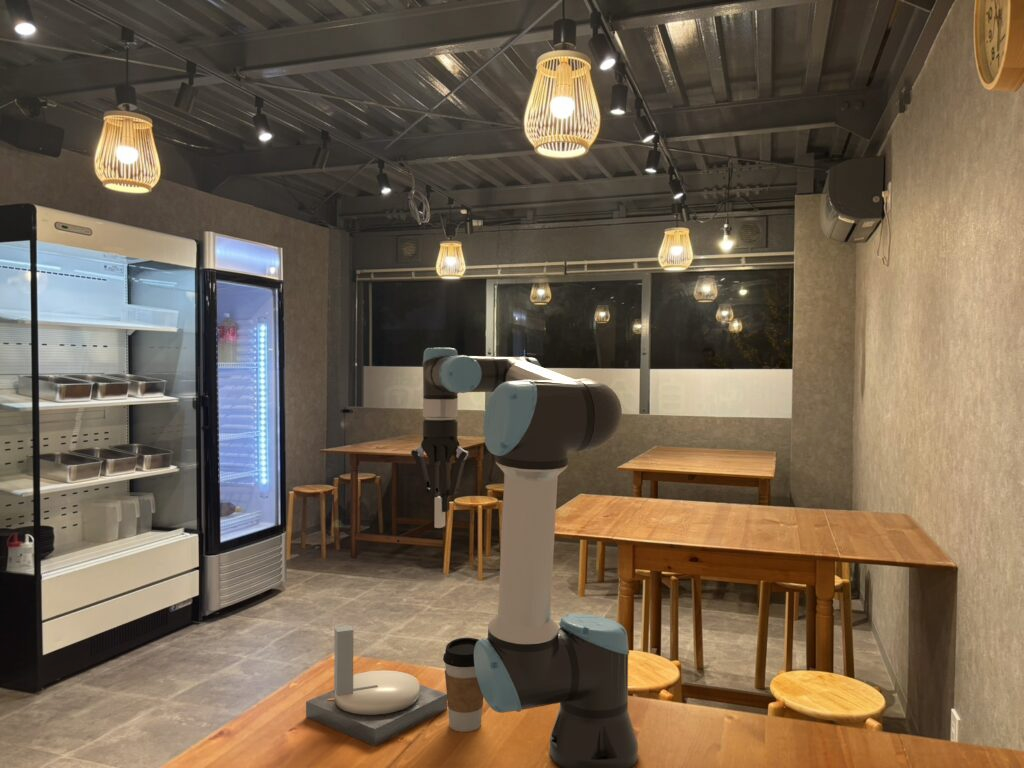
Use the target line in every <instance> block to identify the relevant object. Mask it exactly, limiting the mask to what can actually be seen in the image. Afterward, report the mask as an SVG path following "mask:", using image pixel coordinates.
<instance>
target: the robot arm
mask: <svg viewBox="0 0 1024 768" xmlns="http://www.w3.org/2000/svg"><path fill="white" fill-rule="evenodd" d="M422 381H423V382H422V383H423V384H422V391H423V392H422V393H423V394H422V398H423V399H422V417H424V418H425V419H424V420H423V421H422V441H421V442H420V443H421V444H420V446H419V447H417V448H416V449H413V450H411V451H410V454H411V456H412V457H413V459H414V462H415V465H416V468H417V473H418V478H419V483H420V487H421V488H420V489H421V493H423V494H425V495H428V496H429V497H430V511H431V512H434V528H435V529H436V528H437V529H441V528H444V527H445V526H446V513H448V512H449V510H450V497H451V496H453V495H456V494H457V493H458V492H459V488H460V485H461V480H462V475H463V472H464V471H463V470H464V466H465V462H466V461H467V459H468V457H469V456H470V451H469V450H465V449H463V448H462V447H461V446H460V442H459V440H458V426H459V425H458V423H459V422H458V420H457V419H456V418H457V417H458V400H459V399H458V396H459V395H458V394H465V393H492V394H491V395H490V397H489V399H488V402H487V404H486V408H485V411H484V418H483V435H484V444H485V446H486V449H487V451H489V452H490V453H491V454H492V455H493V456H495V465H497V466H498V468H500V470H501V471H502V472H503V474H504V475H503V477H504V478H503V494H502V495H503V496H502V497H503V498H502V499H503V500H502V521H501V537H500V538H501V541H500V542H501V543H500V544H501V545H500V561H499V563H500V566H499V581H498V582H499V583H498V584H499V585H498V586H499V587H498V606H497V607H498V609H497V614H496V615H495V616H494V617H493V618H492V619H490V621H489V622H488V626H487V638H481V639H479V641H477V643H476V645H475V647H474V665H475V671H476V676H477V680H478V683H479V686H480V689H481V692H482V694H483V700H484V701H485V702H486V703H487V706H489V708H490V709H492V710H493V711H494V712H497V713H499V714H501V713H509V712H517V713H520V712H521V711H524V710H529V709H534V708H540V707H544V706H545V707H546V706H551V705H555V704H559V710H558V712H557V715H556V719H555V722H554V725H553V728H552V731H551V734H550V738H549V755H550V758H551V759H552V761H553V762H554V763H556V765H558V766H560V767H561V768H633V767H634V766H635V765H636V763H637V761H638V759H639V745H638V740H637V737H636V734H635V730H634V726H633V723H632V720H631V716H630V714H629V699H628V698H629V654H630V650H629V649H630V648H629V640H628V639H629V637H628V633H627V631H626V628H625V627H624V626H623V625H622V624H621V623H619V622H617V621H615V620H612V619H609V618H607V617H603V616H600V615H594V614H586V613H585V614H584V613H571V614H569V613H568V614H566V615H564V616H562V617H561V618H560V621H559V623H558V624H559V626H558V624H557V622H555V621H554V620H553V619H552V617H551V609H552V608H551V607H552V605H551V604H552V591H553V590H552V589H553V587H552V586H553V571H554V570H553V569H554V552H555V551H554V549H555V532H556V531H555V530H556V515H557V514H556V513H557V495H558V478H559V476H560V474H561V473H562V472H563V471H565V470H566V469H567V468H568V467H569V465H568V464H569V453H571V452H576V453H577V452H586V451H591V450H595V449H598V448H600V447H602V446H604V445H605V444H606V443H609V441H610V440H612V438H613V437H614V436H615V435H616V434H617V432H618V430H619V427H620V426H621V425H620V424H621V422H622V418H623V417H622V416H623V414H622V412H623V411H622V410H623V408H622V405H621V400H620V399H619V397H618V395H617V393H616V392H615V391H614V390H613V389H612V388H611V387H609V386H608V385H606V384H604V383H602V382H600V381H597V380H594V379H591V378H580V379H575V378H572V377H569V376H567V375H564V374H561V373H558V372H556V371H553V370H550V369H548V368H544V367H542V366H541V364H540V362H539V360H538V359H537V358H535V357H530V356H529V357H527V356H522V355H521V356H488V355H486V356H483V355H479V356H478V355H466V354H459V353H458V350H457V349H456V348H454V347H453V348H452V347H427V348H425V350H423V360H422ZM455 454H456V458H457V459H456V461H455V465H454V469H453V473H452V477H451V464H452V459H453V457H454V455H455ZM425 455H426V457H427V458H428V463H429V473H428V468H427V463H426V459H425V457H424V456H425ZM440 469H441V470H440ZM440 481H441V482H440ZM440 487H441V488H440Z"/></svg>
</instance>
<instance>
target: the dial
mask: <svg viewBox="0 0 1024 768" xmlns="http://www.w3.org/2000/svg"><path fill="white" fill-rule="evenodd" d="M333 633H334V635H333V636H334V642H333V643H334V645H333V646H334V650H333V651H334V656H333V657H334V661H333V662H334V667H333V668H334V671H333V673H334V674H333V677H334V680H333V681H334V682H333V683H334V685H333V686H334V687H333V688H334V689H333V690H335V703H336V705H337V706H338V707H339V708H341V709H342V710H345V711H347V712H351V713H355V714H363V715H378V714H386V713H392V712H396V711H399V710H402V709H405V708H407V707H409V706H411V705H412V704H414V703H415V702H416V701H417V700H418V698H419V685H420V682H419V679H417V678H416V676H413V675H412V674H409V673H407V672H402V671H396V670H385V669H383V670H371V671H370V670H369V671H365V672H359V673H355V674H354V628H353V627H352V625H350V624H349V625H341V626H334V632H333Z"/></svg>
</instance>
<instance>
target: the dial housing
mask: <svg viewBox="0 0 1024 768" xmlns="http://www.w3.org/2000/svg"><path fill="white" fill-rule="evenodd" d="M447 710H448V701H447V692H443V691H440V690H437V689H434V688H432V687H428V686H424V685H421V684H419V698H418V700H417V701H416V702H415V703H414V704H412V705H411V706H409V707H407V708H405V709H402V710H399V711H396V712H392V713H386V714H378V715H363V714H355V713H351V712H347V711H345V710H342V709H341V708H339V707H338V706H337V705H336V703H335V690H334V689H333V690H330V691H329V692H326V693H323V694H321V695H319V696H315V697H314V698H311V699H308V700H306V702H305V718H308V719H309V718H310V719H309V720H312V719H313V720H312V721H314V722H316V721H317V723H318V724H322V725H323V724H324V726H326V727H329V728H331V729H334V730H336V731H338V732H340V733H342V734H345V735H347V736H350V737H353V738H354V739H356V740H359V741H361V742H364V743H367V744H369V745H371V746H373V747H376V746H378V745H380V744H382V743H384V742H387V741H388V740H390V739H392V738H394V737H397V736H398V735H400V734H402V733H404V732H406V731H408V730H409V729H411V728H413V727H416V726H417V725H419V724H422V723H423V722H425V721H427V720H429V719H431V718H432V717H435V716H437V715H439V714H440V713H442V712H445V711H447Z"/></svg>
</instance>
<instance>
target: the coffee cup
mask: <svg viewBox="0 0 1024 768" xmlns="http://www.w3.org/2000/svg"><path fill="white" fill-rule="evenodd" d="M479 640H480V639H479V638H475V637H474V638H473V637H459V638H455V639H452V640H451V641H449V642H448V643H447V644H446V646H445V653H444V654H443V657H442V661H443V662H444V665H445V669H444V676H445V677H444V678H445V690H446V694H447V710H448V721H449V723H448V724H449V727H450V729H452V730H454V731H457V732H459V733H460V732H462V733H463V732H465V733H467V732H473V731H475V730H478V729H479V728H480V727H481V726H482V725H481V724H482V719H483V717H482V715H483V706H484V705H483V704H484V697H483V694H482V692H481V689H480V686H479V683H478V680H477V676H476V671H475V665H474V647H475V645H476V643H477V641H479Z"/></svg>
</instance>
